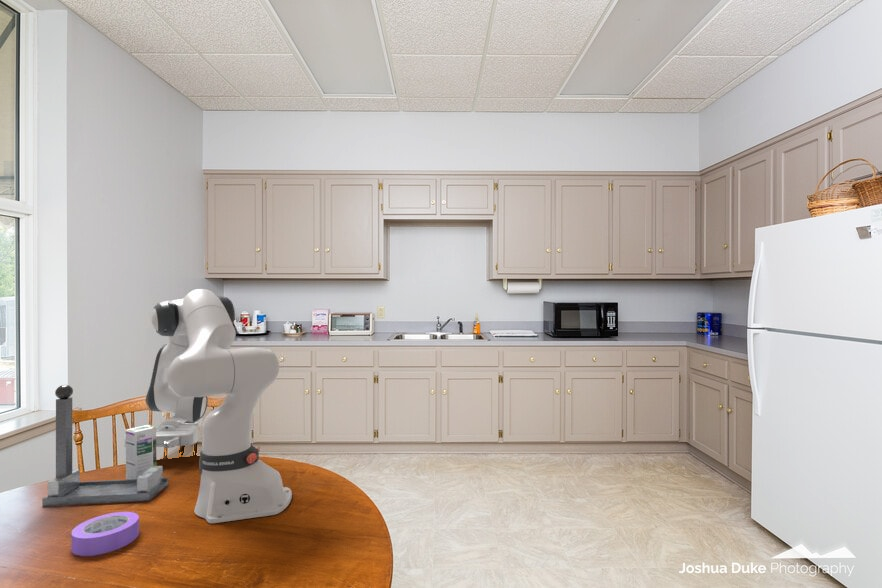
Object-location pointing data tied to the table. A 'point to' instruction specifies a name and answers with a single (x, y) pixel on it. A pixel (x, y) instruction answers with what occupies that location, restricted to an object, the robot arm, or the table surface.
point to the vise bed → (114, 490)
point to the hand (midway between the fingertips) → (149, 446)
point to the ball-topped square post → (64, 446)
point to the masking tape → (104, 533)
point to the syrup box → (140, 450)
